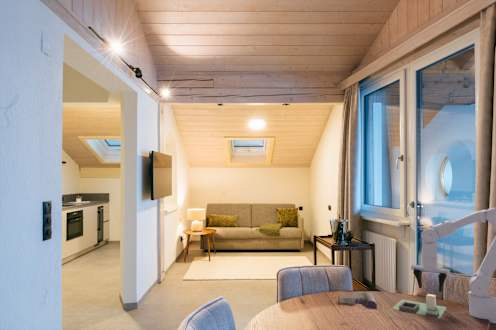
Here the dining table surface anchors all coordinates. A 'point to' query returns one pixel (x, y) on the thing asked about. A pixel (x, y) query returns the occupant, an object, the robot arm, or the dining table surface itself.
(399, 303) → the circuit board
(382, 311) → the dining table surface
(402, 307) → the socket
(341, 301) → the infrared thermometer
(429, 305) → the plug
